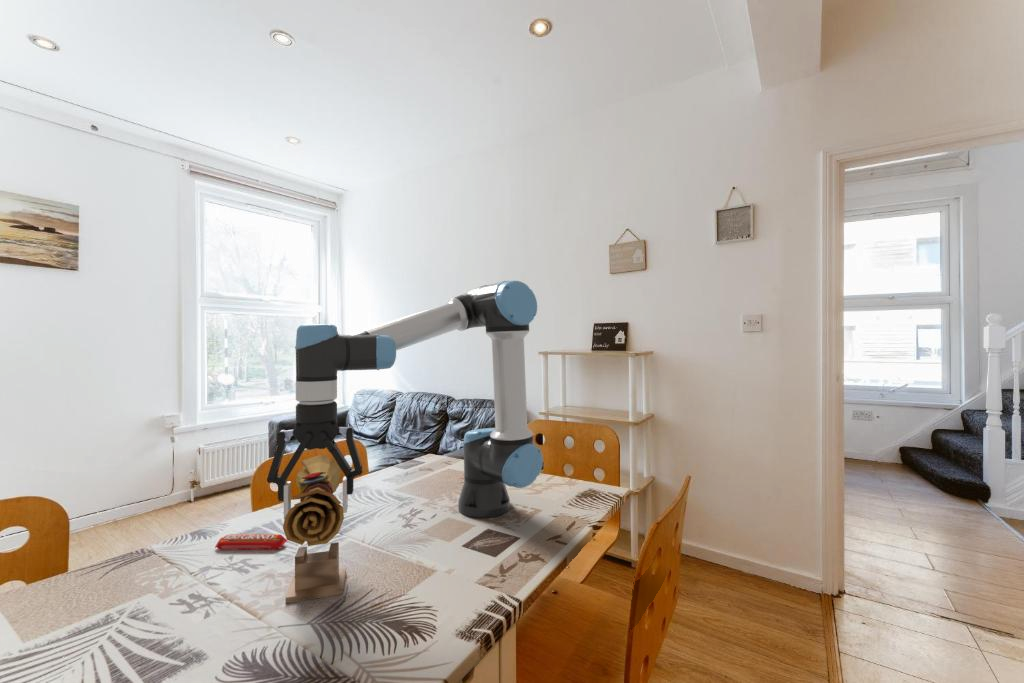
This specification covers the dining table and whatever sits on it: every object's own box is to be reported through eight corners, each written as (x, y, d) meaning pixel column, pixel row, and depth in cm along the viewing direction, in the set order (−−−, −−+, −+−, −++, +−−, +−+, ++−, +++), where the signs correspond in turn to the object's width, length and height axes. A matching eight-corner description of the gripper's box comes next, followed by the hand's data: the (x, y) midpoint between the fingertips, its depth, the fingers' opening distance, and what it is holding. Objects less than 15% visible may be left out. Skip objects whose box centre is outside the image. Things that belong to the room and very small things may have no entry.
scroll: (344, 544, 75) (344, 487, 75) (282, 555, 71) (282, 495, 71) (341, 494, 100) (341, 451, 100) (295, 500, 96) (295, 455, 96)
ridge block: (346, 572, 91) (345, 537, 91) (342, 593, 83) (342, 555, 83) (294, 580, 88) (293, 543, 88) (285, 603, 80) (285, 563, 80)
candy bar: (212, 552, 101) (212, 539, 101) (223, 545, 104) (223, 532, 104) (280, 552, 100) (280, 539, 100) (289, 545, 104) (288, 532, 104)
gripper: (376, 397, 92) (376, 500, 92) (258, 401, 86) (258, 512, 86) (375, 401, 85) (375, 514, 85) (247, 406, 79) (247, 528, 79)
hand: (316, 513), depth 85 cm, fingers closed on scroll, 10 cm apart
